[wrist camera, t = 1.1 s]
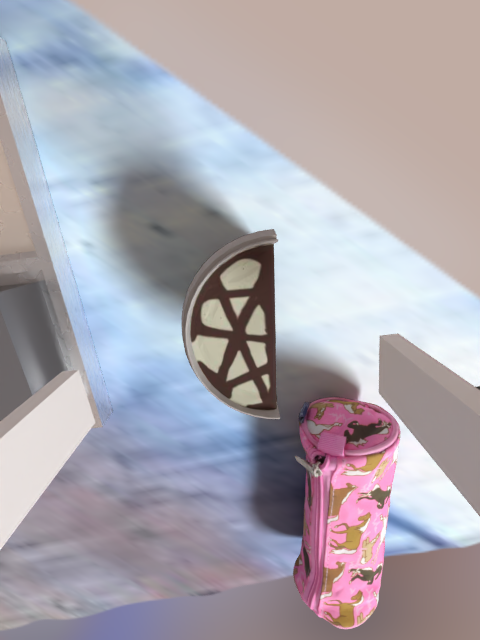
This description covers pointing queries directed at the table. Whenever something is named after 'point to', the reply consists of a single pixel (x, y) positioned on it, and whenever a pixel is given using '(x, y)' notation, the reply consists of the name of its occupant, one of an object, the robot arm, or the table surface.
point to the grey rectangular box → (26, 345)
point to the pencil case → (345, 506)
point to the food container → (235, 325)
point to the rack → (40, 240)
